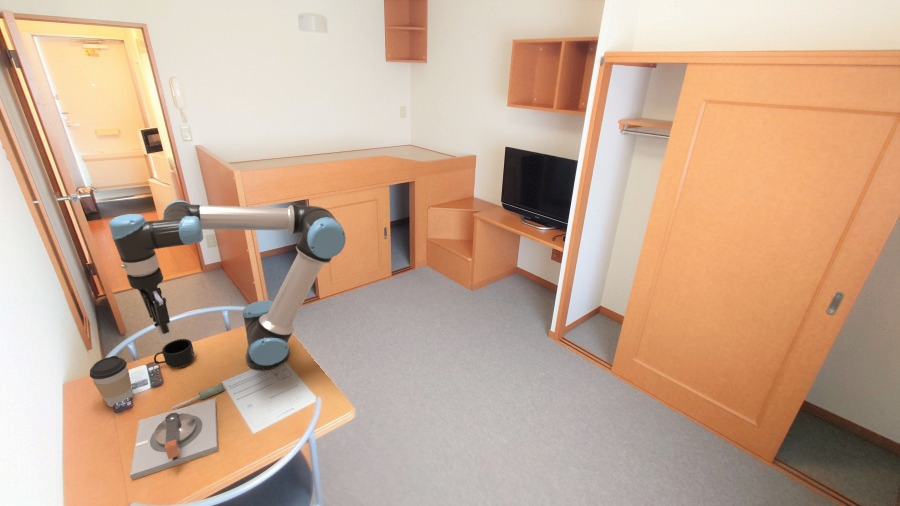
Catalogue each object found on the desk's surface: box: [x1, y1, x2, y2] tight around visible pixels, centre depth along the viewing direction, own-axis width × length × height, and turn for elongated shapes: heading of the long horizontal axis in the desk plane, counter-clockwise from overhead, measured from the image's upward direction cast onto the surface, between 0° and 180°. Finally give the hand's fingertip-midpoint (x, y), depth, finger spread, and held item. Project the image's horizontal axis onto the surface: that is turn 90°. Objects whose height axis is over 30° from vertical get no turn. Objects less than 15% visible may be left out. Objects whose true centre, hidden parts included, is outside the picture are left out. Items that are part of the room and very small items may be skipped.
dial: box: [154, 413, 196, 459], centre depth 114 cm, size 16×10×6 cm, turn 31°
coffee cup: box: [89, 355, 134, 408], centre depth 127 cm, size 9×9×15 cm
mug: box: [153, 338, 195, 369], centre depth 145 cm, size 12×9×7 cm
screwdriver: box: [171, 382, 226, 411], centre depth 132 cm, size 15×3×3 cm
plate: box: [129, 398, 219, 481], centre depth 118 cm, size 20×20×2 cm
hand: (167, 340), depth 119 cm, fingers closed
